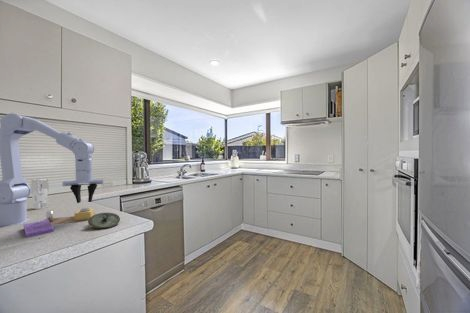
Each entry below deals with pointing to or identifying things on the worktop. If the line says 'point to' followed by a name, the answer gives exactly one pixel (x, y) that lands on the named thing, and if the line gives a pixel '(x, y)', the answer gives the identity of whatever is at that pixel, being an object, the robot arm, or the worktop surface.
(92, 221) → the lid
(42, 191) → the beer glass
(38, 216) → the worktop surface
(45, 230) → the sponges
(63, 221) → the stand board
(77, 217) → the collar
